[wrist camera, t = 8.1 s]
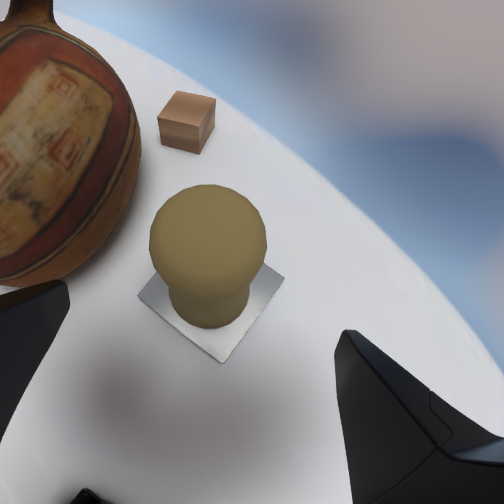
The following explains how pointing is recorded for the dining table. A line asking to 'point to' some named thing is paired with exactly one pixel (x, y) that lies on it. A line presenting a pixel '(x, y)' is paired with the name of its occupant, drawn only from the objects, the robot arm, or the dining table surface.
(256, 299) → the coaster
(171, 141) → the walnut block
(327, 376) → the dining table surface
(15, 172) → the ceramic pitcher
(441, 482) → the robot arm
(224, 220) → the cork
